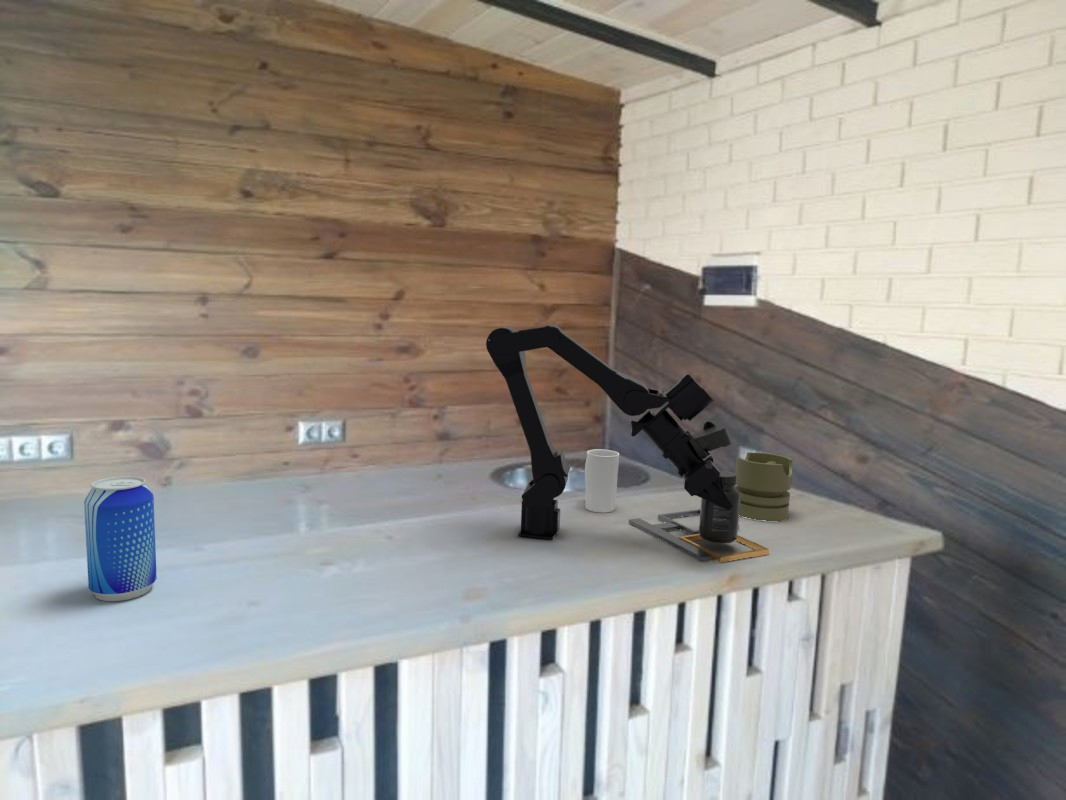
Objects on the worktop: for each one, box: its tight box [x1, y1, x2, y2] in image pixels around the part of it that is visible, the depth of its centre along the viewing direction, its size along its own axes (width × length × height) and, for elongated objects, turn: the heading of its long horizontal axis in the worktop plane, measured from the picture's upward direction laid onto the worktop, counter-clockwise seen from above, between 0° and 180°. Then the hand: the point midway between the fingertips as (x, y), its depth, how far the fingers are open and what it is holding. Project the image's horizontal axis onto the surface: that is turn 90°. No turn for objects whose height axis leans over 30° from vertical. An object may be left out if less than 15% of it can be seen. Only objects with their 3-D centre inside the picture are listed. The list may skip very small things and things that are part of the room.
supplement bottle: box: [698, 469, 741, 544], centre depth 129 cm, size 7×7×12 cm
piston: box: [734, 451, 794, 522], centre depth 151 cm, size 11×12×11 cm
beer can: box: [83, 475, 158, 602], centre depth 101 cm, size 8×8×16 cm
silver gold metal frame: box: [628, 508, 770, 564], centre depth 136 cm, size 18×24×1 cm
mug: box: [584, 448, 620, 514], centre depth 152 cm, size 10×7×12 cm, turn 25°
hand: (728, 502), depth 128 cm, fingers closed on supplement bottle, 6 cm apart
